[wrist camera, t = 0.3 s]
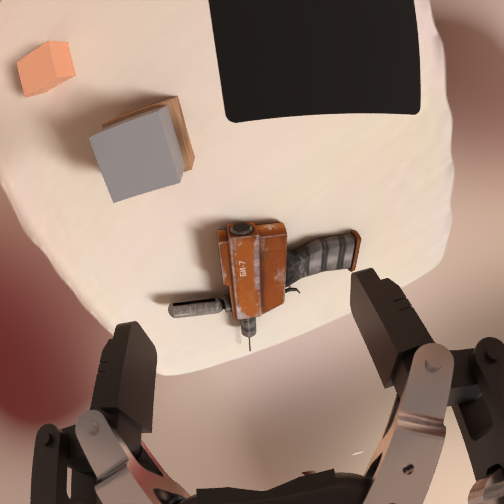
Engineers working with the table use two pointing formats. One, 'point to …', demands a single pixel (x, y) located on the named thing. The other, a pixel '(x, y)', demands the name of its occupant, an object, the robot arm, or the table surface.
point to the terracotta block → (45, 68)
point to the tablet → (316, 57)
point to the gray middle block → (138, 154)
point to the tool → (266, 270)
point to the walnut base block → (177, 124)
